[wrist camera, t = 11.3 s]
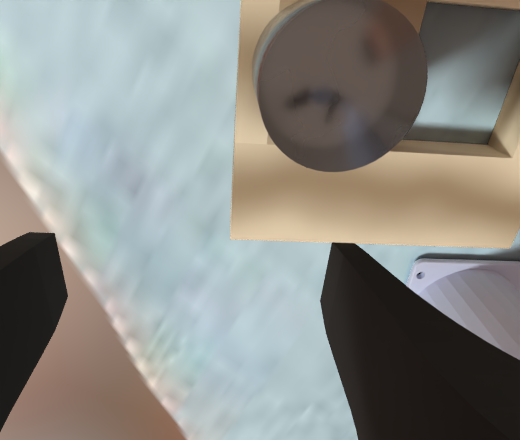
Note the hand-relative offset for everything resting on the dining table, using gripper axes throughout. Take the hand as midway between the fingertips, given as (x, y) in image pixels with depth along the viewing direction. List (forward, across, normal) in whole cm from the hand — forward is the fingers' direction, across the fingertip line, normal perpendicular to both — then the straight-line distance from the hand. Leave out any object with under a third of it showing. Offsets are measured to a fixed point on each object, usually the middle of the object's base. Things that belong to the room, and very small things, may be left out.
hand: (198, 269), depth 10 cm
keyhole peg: (+10, -4, -4) cm, 11 cm away
